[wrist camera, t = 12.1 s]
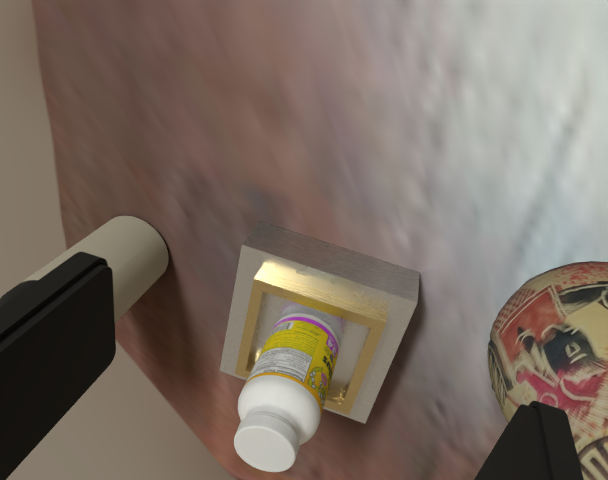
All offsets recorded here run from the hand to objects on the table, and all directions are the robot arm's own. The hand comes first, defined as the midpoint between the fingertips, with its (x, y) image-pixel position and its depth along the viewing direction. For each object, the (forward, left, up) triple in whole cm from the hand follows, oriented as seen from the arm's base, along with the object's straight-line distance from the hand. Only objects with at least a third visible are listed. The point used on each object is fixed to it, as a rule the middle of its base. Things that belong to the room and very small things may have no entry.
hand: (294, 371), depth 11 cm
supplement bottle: (+1, +23, -27) cm, 35 cm away
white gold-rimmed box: (+1, +24, -32) cm, 40 cm away
